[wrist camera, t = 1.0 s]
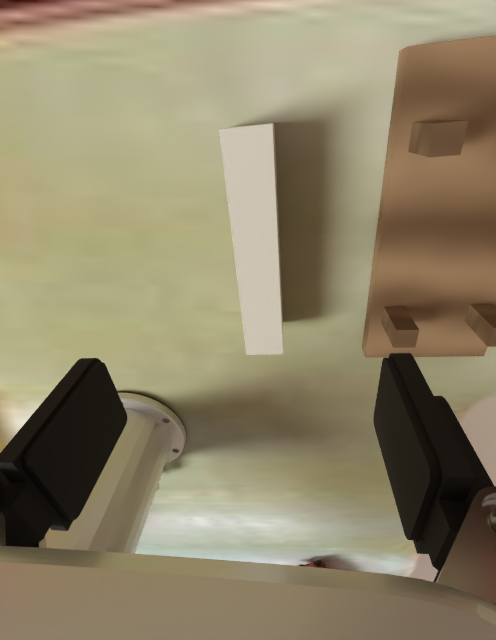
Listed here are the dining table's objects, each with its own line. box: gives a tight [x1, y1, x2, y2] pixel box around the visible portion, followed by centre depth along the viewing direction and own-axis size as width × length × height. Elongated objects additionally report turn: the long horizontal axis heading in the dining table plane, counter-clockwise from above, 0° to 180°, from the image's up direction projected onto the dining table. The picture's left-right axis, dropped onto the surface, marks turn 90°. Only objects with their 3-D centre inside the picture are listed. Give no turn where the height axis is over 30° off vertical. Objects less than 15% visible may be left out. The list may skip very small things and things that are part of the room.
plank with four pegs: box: [362, 36, 496, 357], centre depth 22 cm, size 22×10×5 cm, turn 5°
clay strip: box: [219, 123, 283, 355], centre depth 24 cm, size 16×3×5 cm, turn 5°
